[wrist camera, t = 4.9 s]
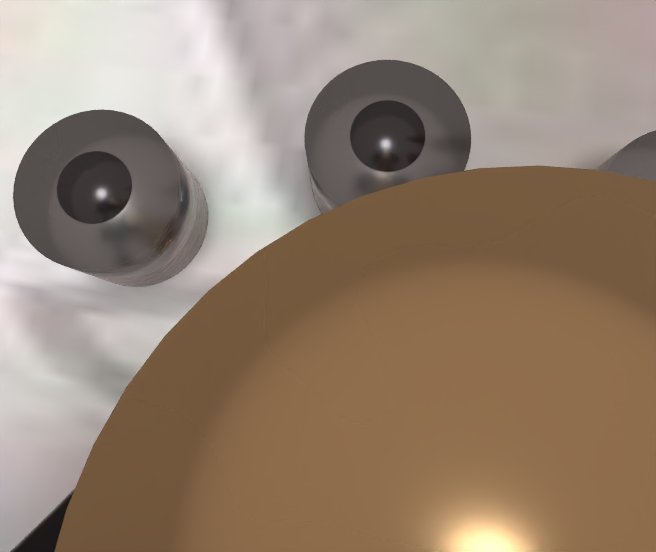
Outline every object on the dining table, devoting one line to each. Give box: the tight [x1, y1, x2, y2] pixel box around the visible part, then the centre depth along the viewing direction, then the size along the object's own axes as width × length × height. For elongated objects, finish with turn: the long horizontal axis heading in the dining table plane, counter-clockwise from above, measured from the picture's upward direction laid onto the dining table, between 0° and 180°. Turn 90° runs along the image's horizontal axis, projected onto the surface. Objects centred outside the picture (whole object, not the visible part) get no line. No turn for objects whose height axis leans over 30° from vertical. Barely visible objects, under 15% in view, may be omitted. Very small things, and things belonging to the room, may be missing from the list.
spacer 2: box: [596, 131, 656, 182], centre depth 14 cm, size 4×4×3 cm
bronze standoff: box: [55, 166, 656, 552], centre depth 8 cm, size 6×6×13 cm
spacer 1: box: [13, 110, 208, 287], centre depth 14 cm, size 4×4×3 cm
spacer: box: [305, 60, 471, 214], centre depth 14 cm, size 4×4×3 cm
